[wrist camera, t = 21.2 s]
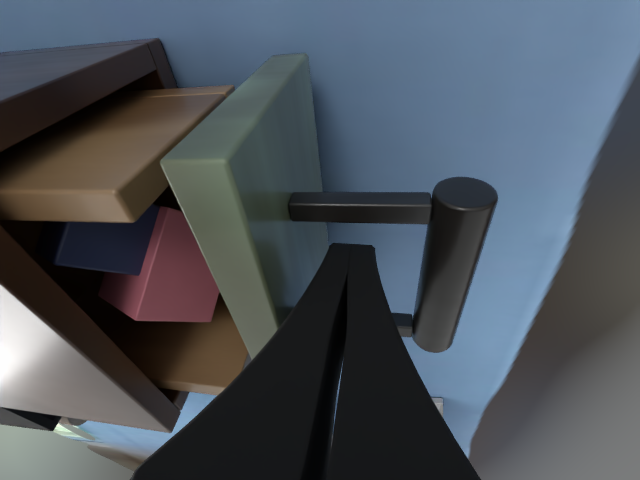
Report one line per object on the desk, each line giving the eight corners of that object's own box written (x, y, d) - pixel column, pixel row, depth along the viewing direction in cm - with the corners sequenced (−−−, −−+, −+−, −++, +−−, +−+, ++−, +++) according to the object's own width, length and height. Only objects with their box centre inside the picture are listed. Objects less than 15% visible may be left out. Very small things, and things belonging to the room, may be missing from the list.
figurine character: (129, 360, 34) (19, 278, 23) (84, 444, 29) (-85, 391, 18) (74, 353, 35) (-57, 270, 24) (21, 432, 30) (-176, 376, 19)
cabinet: (159, 37, 11) (-144, 157, 5) (244, 269, 19) (171, 433, 12) (-131, 64, 14) (-583, 167, 7) (49, 260, 21) (-94, 392, 15)
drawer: (480, 38, 9) (597, 154, 4) (432, 284, 16) (452, 440, 11) (-18, 76, 12) (-302, 168, 7) (122, 268, 19) (27, 382, 14)
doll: (52, 178, 10) (16, 289, 9) (86, 181, 8) (42, 319, 8) (238, 234, 15) (219, 304, 15) (283, 243, 14) (263, 323, 13)
